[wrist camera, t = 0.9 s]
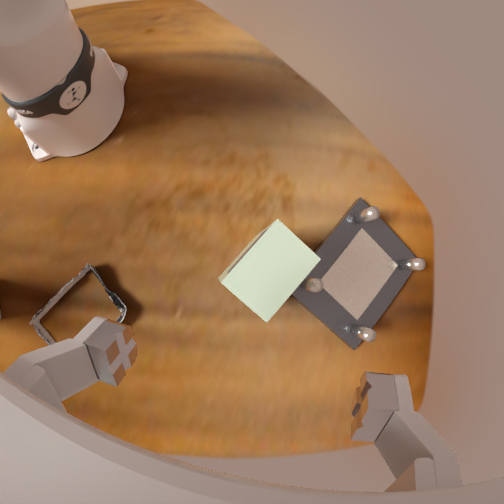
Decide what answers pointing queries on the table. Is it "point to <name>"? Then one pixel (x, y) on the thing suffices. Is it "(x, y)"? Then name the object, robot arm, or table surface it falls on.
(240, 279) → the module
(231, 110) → the table surface
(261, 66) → the table surface
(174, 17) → the table surface
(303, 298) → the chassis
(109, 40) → the table surface
